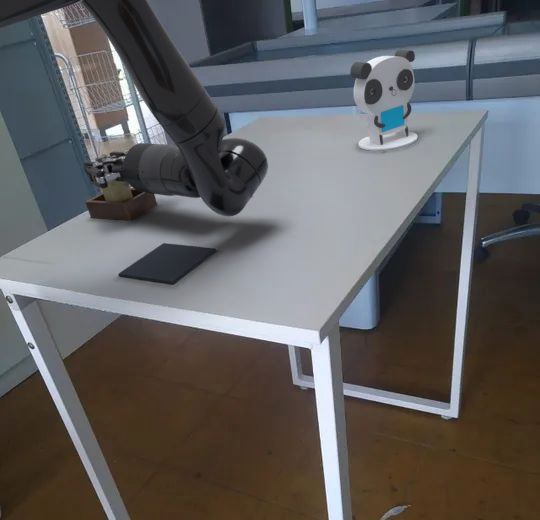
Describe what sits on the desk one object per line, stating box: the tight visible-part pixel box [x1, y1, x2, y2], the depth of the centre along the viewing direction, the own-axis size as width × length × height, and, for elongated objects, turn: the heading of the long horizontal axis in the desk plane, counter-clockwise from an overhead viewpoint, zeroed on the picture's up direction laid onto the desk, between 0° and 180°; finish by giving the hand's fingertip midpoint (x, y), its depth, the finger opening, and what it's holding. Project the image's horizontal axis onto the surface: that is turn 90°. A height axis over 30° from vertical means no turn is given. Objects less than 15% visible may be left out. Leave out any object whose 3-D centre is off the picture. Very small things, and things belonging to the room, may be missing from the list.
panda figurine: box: [350, 49, 419, 152], centre depth 103 cm, size 12×11×15 cm
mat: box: [117, 242, 217, 285], centre depth 77 cm, size 10×10×1 cm
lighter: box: [94, 153, 133, 202], centre depth 96 cm, size 7×4×10 cm, turn 42°
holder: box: [84, 187, 158, 221], centre depth 98 cm, size 7×10×3 cm
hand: (100, 163), depth 96 cm, fingers open, 5 cm apart
